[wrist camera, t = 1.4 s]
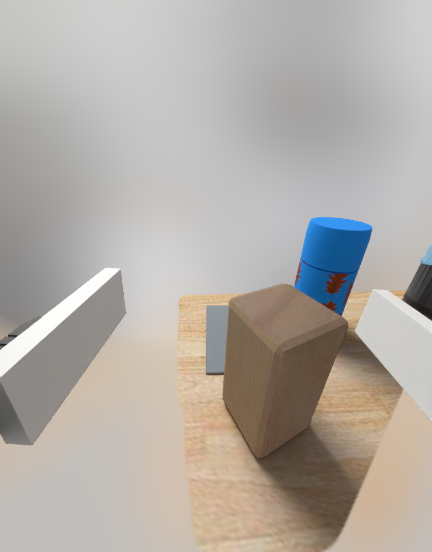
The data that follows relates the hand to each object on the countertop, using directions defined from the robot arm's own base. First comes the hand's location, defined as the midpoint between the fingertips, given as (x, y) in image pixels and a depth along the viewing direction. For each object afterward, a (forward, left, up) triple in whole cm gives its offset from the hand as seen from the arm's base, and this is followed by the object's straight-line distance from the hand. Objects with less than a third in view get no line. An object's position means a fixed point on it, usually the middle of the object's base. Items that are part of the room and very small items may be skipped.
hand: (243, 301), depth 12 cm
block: (-7, -10, -28) cm, 31 cm away
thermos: (-23, -30, -28) cm, 47 cm away
